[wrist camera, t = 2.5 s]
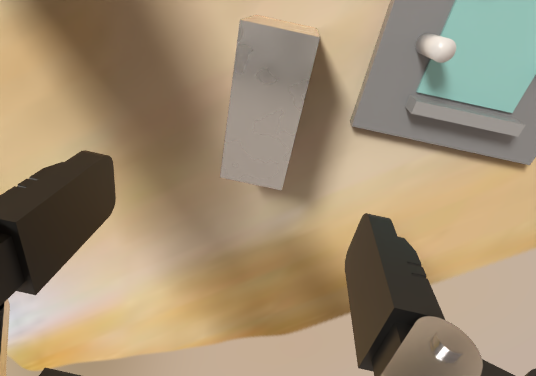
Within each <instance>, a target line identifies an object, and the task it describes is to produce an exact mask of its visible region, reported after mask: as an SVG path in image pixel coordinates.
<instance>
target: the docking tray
mask: <svg viewBox="0 0 536 376" xmlns="http://www.w3.org/2000/svg"><path fill="white" fill-rule="evenodd" d="M350 123H351V126H353V127H357V128H362V129H366V130H371V131H376V132H380V133H385V134H389V135H394V136H399V137H403V138H408V139H412V140H417V141H421V142H426V143H431V144H435V145H440V146H444V147H449V148H453V149H458V150H463V151H467V152H472V153H476V154H481V155H485V156H490V157H495V158H499V159H504V160H508V161H513V162H518V163H522V164H527V165H530V164H531V163H532V161H533V160H534V158H535V157H536V0H391V1H390V4H389V7H388V10H387V13H386V16H385V19H384V22H383V25H382V28H381V31H380V34H379V37H378V40H377V43H376V46H375V49H374V52H373V55H372V58H371V61H370V64H369V67H368V70H367V73H366V76H365V79H364V82H363V85H362V87H361V90H360V93H359V96H358V99H357V102H356V105H355V108H354V111H353V114H352V117H351V120H350Z"/></svg>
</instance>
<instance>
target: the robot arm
mask: <svg viewBox="0 0 536 376" xmlns="http://www.w3.org/2000/svg"><path fill="white" fill-rule="evenodd" d="M114 205H115V182H114V168H113V161H112V158H111V157H110V156H108V155H103V154H99V153H94V152H90V151H81V152H79V153H78V154H76V155H75V156H73V157H72V158H70V159H69V160H67V161H65V162H61V163H58V164H55V165H52V166H49V167H46V168H43V169H42V170H40V171H38V172H37V173H35V174H34V175H32V176H30V178H29V179H26V180H24V181H22V182H21V183H19V184H18V186H17V187H15V186H14V187H13V188H11V189H10V190H8V191H6V192H5V193H3V194H2V195H0V376H6V358H7V343H8V327H9V311H10V305H9V301H8V298H9V297H10V296H11V295H12V294H13V293H14V292H15V291H19V292H24V293H29V294H33V295H36V294H37V293H38V292H39V291H40V290H41V289H42V288H43V287H44V286H45V285H46V284H47V283H48V281H49V280H50V279H51V278H52V277H53V276H54V275H55V274H56V273H57V272H58V271H59V270H60V269H61V268H62V266H63V265H64V264H65V263H66V262H67V261H68V260H69V259H70V258H71V257H72V256H73V255H74V254H75V253H76V252H77V250H78V249H79V248H80V247H81V246H82V245H83V244H84V243H85V242H86V241H87V240H88V239H89V238H90V237H91V235H92V234H93V233H94V232H95V231H96V230H97V229H98V228H99V227H100V226H101V225H102V224H103V223H104V222H105V220H106V219H107V218H108V217H109V216H110V215H111V213H112V211H113V209H114ZM345 273H346V281H347V288H348V296H349V303H350V310H351V318H352V325H353V333H354V340H355V348H356V355H357V362H358V368H361V369H365V370H370V371H374V376H515V375H513V374H511V373H509V372H507V371H505V370H503V369H501V368H499V367H496V366H495V365H493V364H490V363H488V362H486V361H485V360H483V359H482V358H481V355H480V352H479V351H478V349H477V347H476V345H475V344H474V343H473V341H472V340H471V339H470V338H469V337H468V336H467V335H466V334H465V333H464V332H463V331H462V330H460V329H459V328H458V327H456V326H455V325H453V324H452V323H450V322H448V321H446V320H445V318H444V316H443V314H442V311H441V309H440V307H439V304H438V302H437V300H436V297H435V295H434V293H433V290H432V288H431V286H430V283H429V281H428V279H426V274H425V272H424V269H423V267H421V262H420V260H419V258H418V255H417V253H416V251H415V250H414V249H413V248H412V246H411V245H410V244H409V243H408V242H407V241H406V240H405V239H404V238H401V237H397V234H396V231H395V229H394V226H393V223H392V221H391V219H389V218H385V217H380V216H376V215H371V214H367V213H366V214H364V215H363V216H362V218H361V220H360V223H359V225H358V227H357V230H356V232H355V234H354V237H353V239H352V242H351V244H350V246H349V249H348V251H347V255H346V260H345ZM39 376H80V375H75V374H71V373H67V372H62V371H58V370H53V369H49V368H44V370H43V371H42V372H41V374H40V375H39ZM525 376H536V369H533V370H531V371H530V372H528V373H527V374H526V375H525Z"/></svg>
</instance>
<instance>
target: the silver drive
mask: <svg viewBox="0 0 536 376" xmlns="http://www.w3.org/2000/svg"><path fill="white" fill-rule="evenodd" d="M319 40H320V36H319V33H318V30H317V28H314V27H310V26H305V25H301V24H296V23H292V22H287V21H283V20H278V19H273V18H269V17H264V16H260V15H253V16H250V17H247V18H244V19H241V20H240V24H239V32H238V40H237V48H236V56H235V64H234V72H233V80H232V87H231V95H230V103H229V111H228V119H227V127H226V135H225V143H224V151H223V158H222V166H221V174H220V177H221V178H226V179H231V180H235V181H240V182H244V183H249V184H254V185H258V186H263V187H268V188H272V189H277V190H282V188H283V184H284V180H285V176H286V172H287V168H288V164H289V160H290V156H291V152H292V148H293V144H294V140H295V136H296V132H297V128H298V124H299V120H300V116H301V112H302V108H303V104H304V100H305V96H306V92H307V88H308V84H309V80H310V76H311V72H312V68H313V64H314V60H315V56H316V52H317V48H318V44H319Z"/></svg>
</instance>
